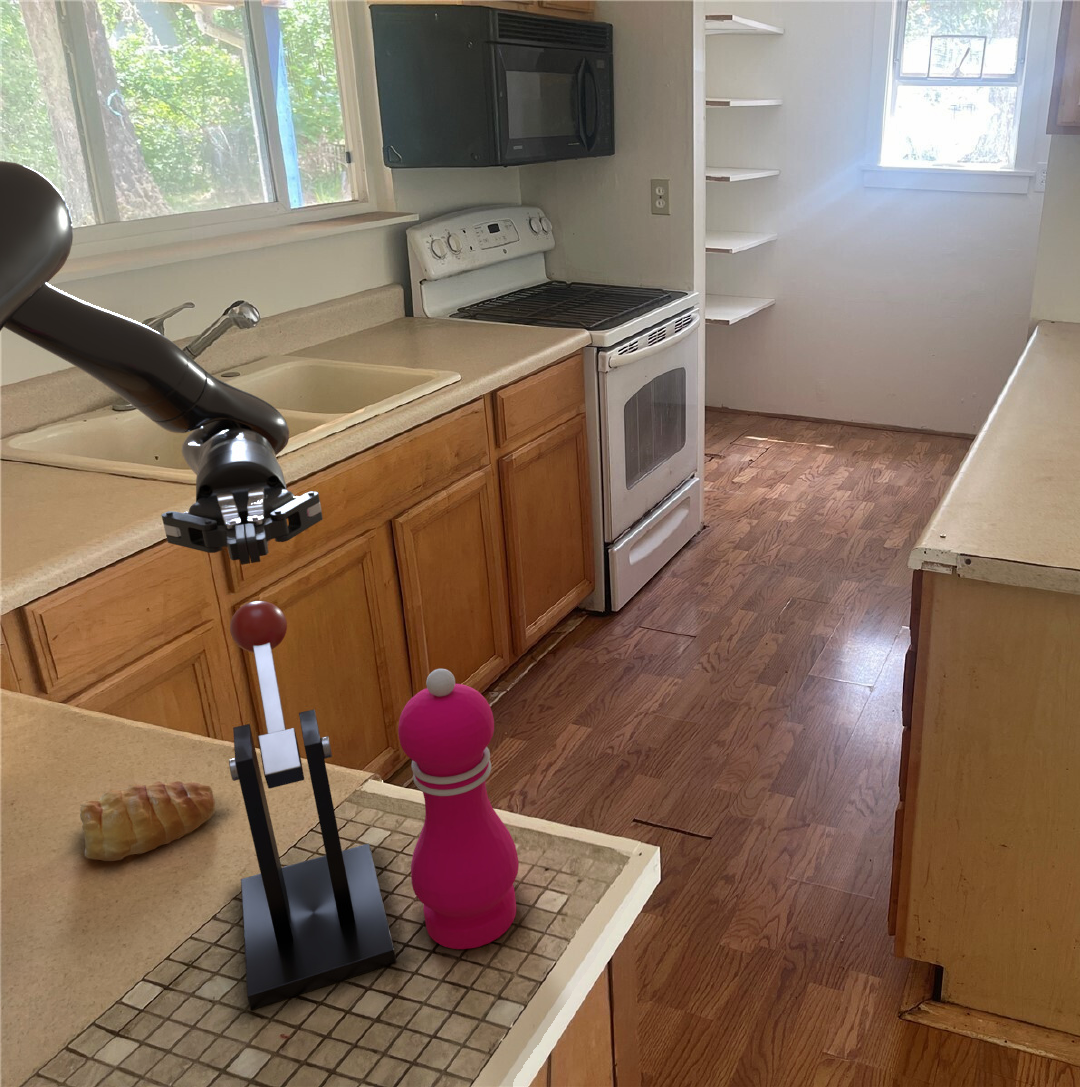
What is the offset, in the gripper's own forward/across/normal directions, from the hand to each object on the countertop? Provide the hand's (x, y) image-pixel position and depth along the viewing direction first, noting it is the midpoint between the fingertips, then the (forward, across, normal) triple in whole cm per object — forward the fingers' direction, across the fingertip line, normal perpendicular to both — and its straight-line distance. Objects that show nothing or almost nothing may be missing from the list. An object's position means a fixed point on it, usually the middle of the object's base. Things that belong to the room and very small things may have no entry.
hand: (248, 552), depth 80 cm
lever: (+15, 0, +5) cm, 16 cm away
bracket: (+20, 0, +21) cm, 29 cm away
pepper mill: (+24, +10, +21) cm, 34 cm away
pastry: (+3, -11, +21) cm, 24 cm away
